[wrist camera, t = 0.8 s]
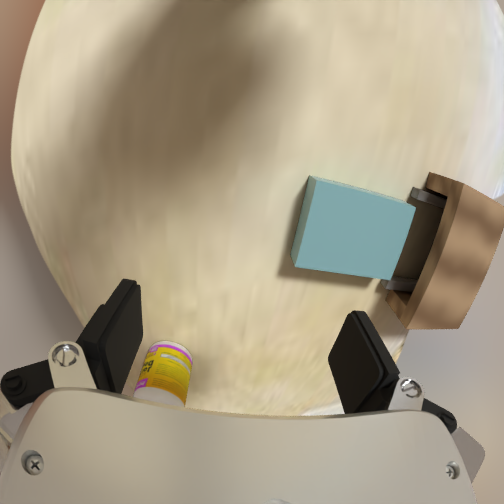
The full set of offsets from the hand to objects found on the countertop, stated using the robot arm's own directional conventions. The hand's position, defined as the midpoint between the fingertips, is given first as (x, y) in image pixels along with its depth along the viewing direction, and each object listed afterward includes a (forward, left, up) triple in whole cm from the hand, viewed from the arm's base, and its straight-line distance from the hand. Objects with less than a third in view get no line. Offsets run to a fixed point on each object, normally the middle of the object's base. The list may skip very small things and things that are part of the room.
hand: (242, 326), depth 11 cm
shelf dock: (0, +26, -18) cm, 32 cm away
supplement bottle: (+23, -7, -19) cm, 30 cm away
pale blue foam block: (0, +12, -18) cm, 22 cm away
